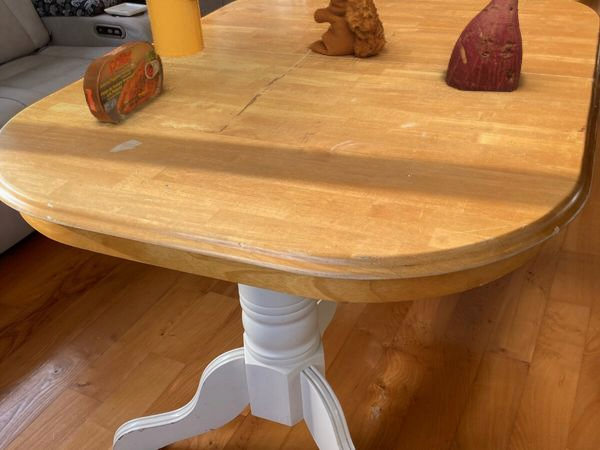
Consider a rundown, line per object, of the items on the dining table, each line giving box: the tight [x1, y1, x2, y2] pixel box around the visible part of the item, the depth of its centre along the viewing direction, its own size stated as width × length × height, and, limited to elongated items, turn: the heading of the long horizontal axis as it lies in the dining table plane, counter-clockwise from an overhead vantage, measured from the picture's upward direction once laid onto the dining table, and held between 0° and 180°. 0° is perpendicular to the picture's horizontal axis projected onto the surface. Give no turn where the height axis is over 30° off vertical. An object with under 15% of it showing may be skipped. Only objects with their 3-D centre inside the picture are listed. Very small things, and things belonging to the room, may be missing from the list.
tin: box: [82, 40, 164, 124], centre depth 78 cm, size 15×3×8 cm, turn 161°
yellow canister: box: [145, 0, 205, 58], centre depth 64 cm, size 6×6×9 cm
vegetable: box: [445, 0, 524, 93], centre depth 82 cm, size 10×10×15 cm
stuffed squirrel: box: [310, 0, 388, 58], centre depth 95 cm, size 10×14×13 cm
